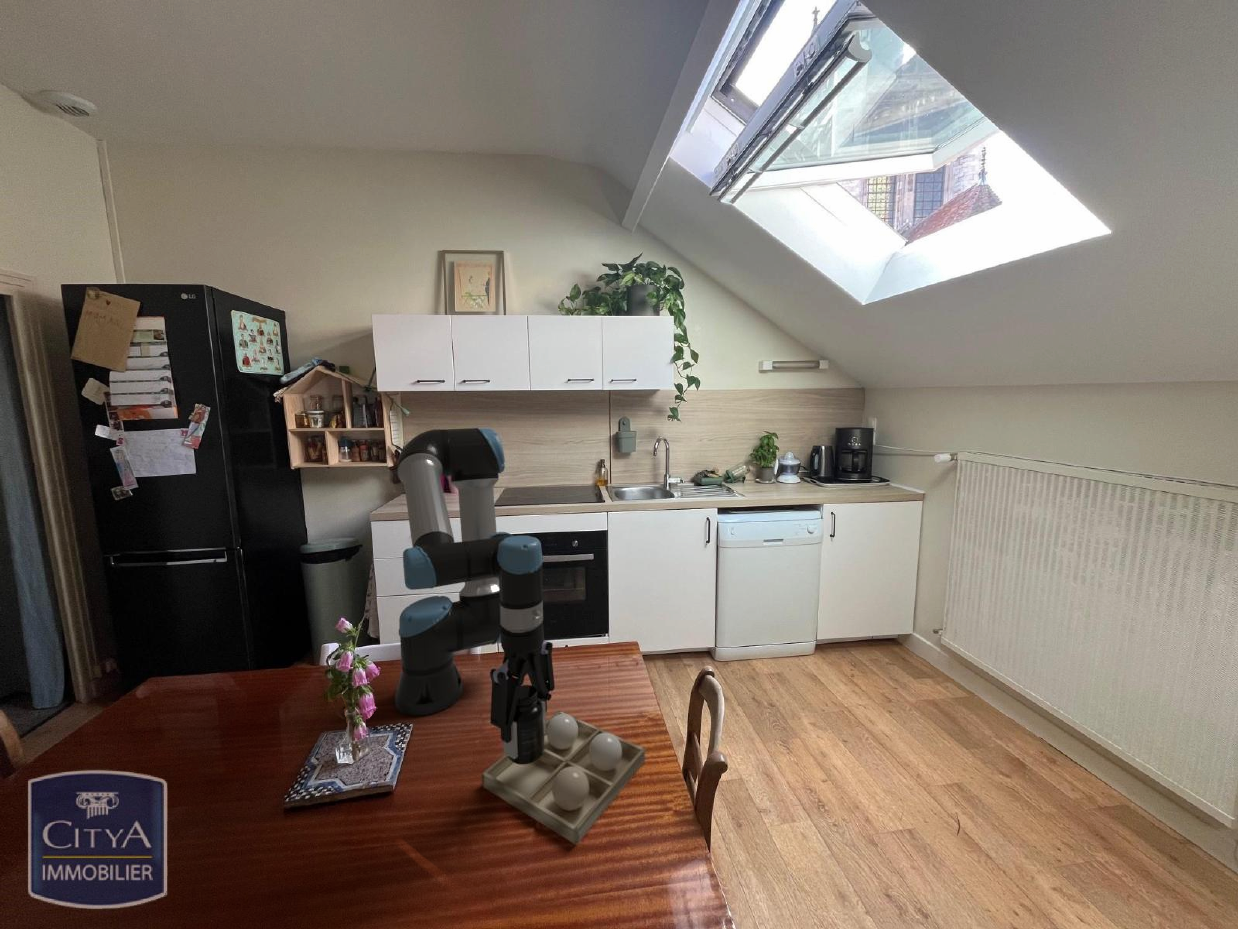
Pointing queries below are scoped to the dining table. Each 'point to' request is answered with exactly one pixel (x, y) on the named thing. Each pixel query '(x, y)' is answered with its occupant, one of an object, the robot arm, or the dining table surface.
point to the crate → (535, 780)
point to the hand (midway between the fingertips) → (525, 742)
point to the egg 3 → (605, 752)
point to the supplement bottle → (529, 726)
